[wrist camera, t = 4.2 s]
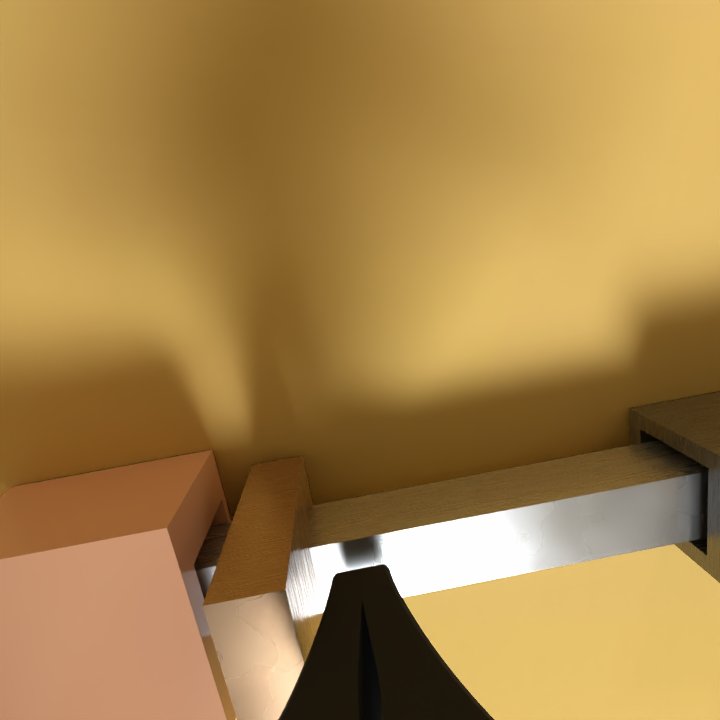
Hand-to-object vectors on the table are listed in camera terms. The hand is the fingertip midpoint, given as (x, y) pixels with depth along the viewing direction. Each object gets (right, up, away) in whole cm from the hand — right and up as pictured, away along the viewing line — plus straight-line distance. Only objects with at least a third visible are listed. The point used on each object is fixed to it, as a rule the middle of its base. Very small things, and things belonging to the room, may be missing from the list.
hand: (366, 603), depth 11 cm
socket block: (-7, 0, +4) cm, 8 cm away
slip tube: (+3, +2, +4) cm, 5 cm away
